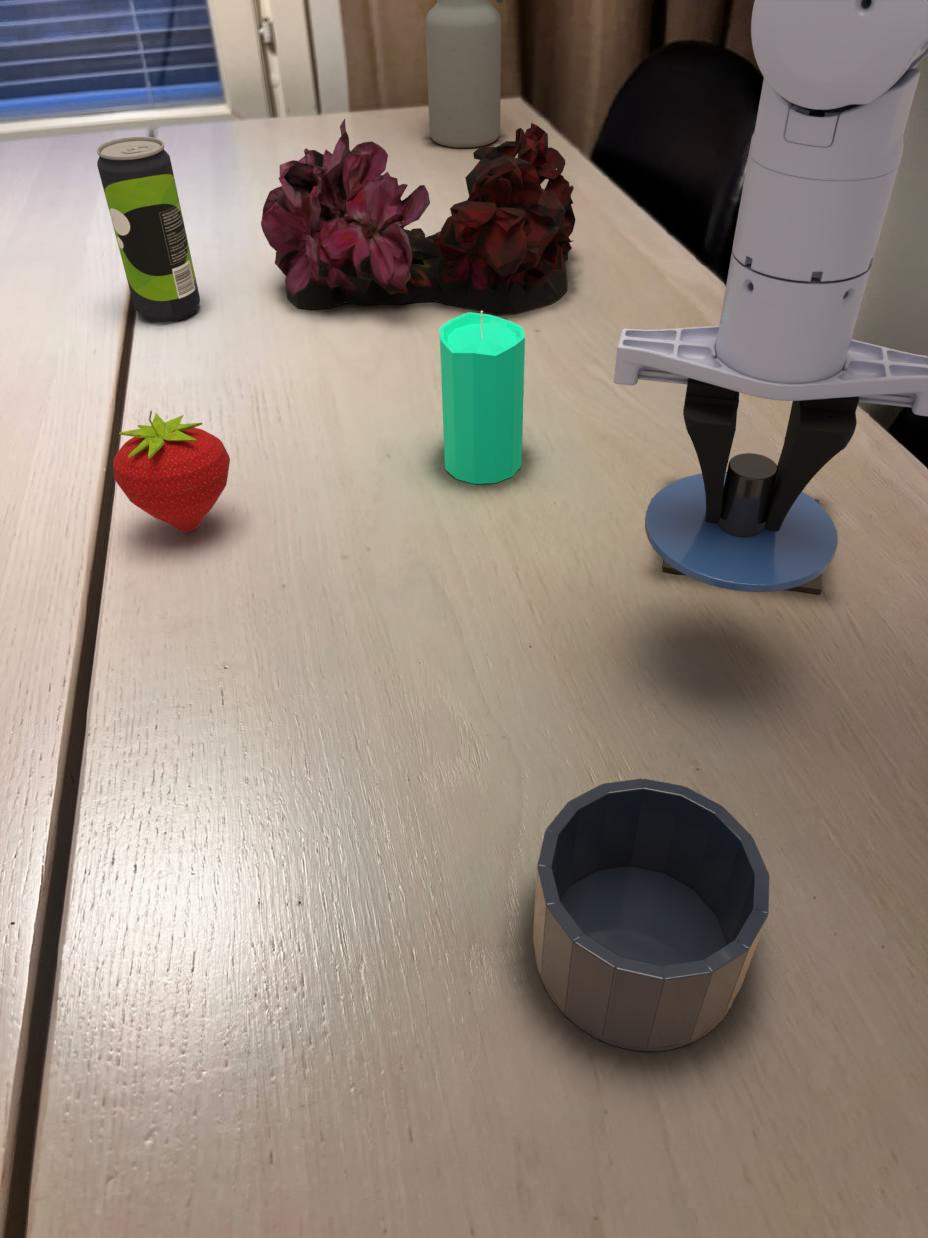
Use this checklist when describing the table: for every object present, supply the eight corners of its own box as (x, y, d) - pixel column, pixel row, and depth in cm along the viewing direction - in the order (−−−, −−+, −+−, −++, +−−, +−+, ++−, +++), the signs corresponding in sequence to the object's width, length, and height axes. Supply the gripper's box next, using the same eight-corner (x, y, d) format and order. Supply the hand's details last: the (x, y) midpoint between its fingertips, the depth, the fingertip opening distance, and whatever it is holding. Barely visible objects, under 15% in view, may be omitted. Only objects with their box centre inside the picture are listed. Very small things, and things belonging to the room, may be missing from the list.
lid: (829, 499, 53) (851, 426, 50) (836, 614, 46) (862, 538, 43) (652, 478, 55) (662, 405, 52) (633, 585, 48) (643, 510, 45)
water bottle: (499, 126, 136) (501, -122, 117) (506, 147, 128) (509, -113, 109) (428, 129, 135) (418, -120, 116) (431, 150, 128) (421, -111, 109)
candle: (433, 448, 74) (427, 299, 66) (506, 434, 75) (508, 287, 67) (456, 490, 70) (452, 336, 61) (533, 475, 71) (539, 322, 63)
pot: (744, 883, 45) (771, 801, 41) (735, 1076, 39) (767, 1003, 34) (553, 844, 47) (560, 762, 43) (515, 1022, 41) (518, 947, 36)
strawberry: (245, 548, 65) (217, 420, 58) (132, 564, 64) (90, 436, 57) (242, 499, 69) (215, 374, 62) (136, 513, 68) (97, 388, 61)
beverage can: (195, 292, 96) (160, 131, 86) (207, 317, 92) (172, 151, 81) (132, 304, 94) (89, 140, 84) (141, 330, 90) (97, 161, 80)
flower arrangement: (555, 236, 105) (563, 85, 95) (602, 314, 91) (616, 145, 80) (271, 258, 102) (247, 104, 92) (271, 342, 87) (243, 170, 77)
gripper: (971, 233, 42) (884, 489, 51) (639, 210, 44) (613, 457, 54) (996, 301, 37) (894, 572, 46) (620, 270, 39) (595, 532, 49)
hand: (742, 516), depth 49 cm, fingers closed on lid, 2 cm apart
